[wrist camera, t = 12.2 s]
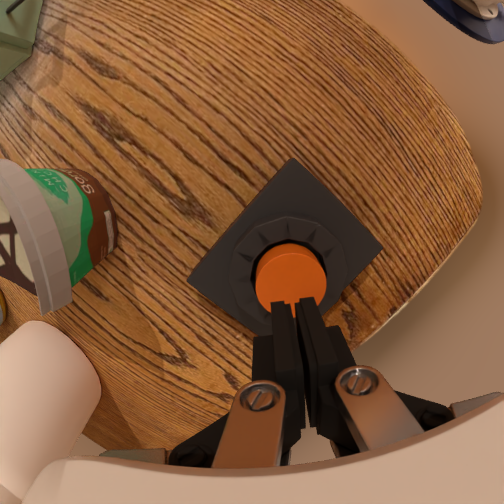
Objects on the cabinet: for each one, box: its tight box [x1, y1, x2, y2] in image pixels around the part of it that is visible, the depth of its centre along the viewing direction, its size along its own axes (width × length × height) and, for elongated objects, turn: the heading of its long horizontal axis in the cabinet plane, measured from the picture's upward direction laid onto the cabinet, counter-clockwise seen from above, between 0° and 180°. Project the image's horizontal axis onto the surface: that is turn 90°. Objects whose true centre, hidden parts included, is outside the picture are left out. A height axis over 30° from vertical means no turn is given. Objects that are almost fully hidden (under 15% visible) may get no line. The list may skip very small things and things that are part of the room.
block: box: [187, 158, 383, 336], centre depth 17 cm, size 10×8×4 cm
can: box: [0, 320, 101, 504], centre depth 14 cm, size 12×12×20 cm
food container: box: [0, 159, 118, 316], centre depth 13 cm, size 12×6×10 cm, turn 72°
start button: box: [256, 243, 326, 318], centre depth 14 cm, size 4×4×2 cm
